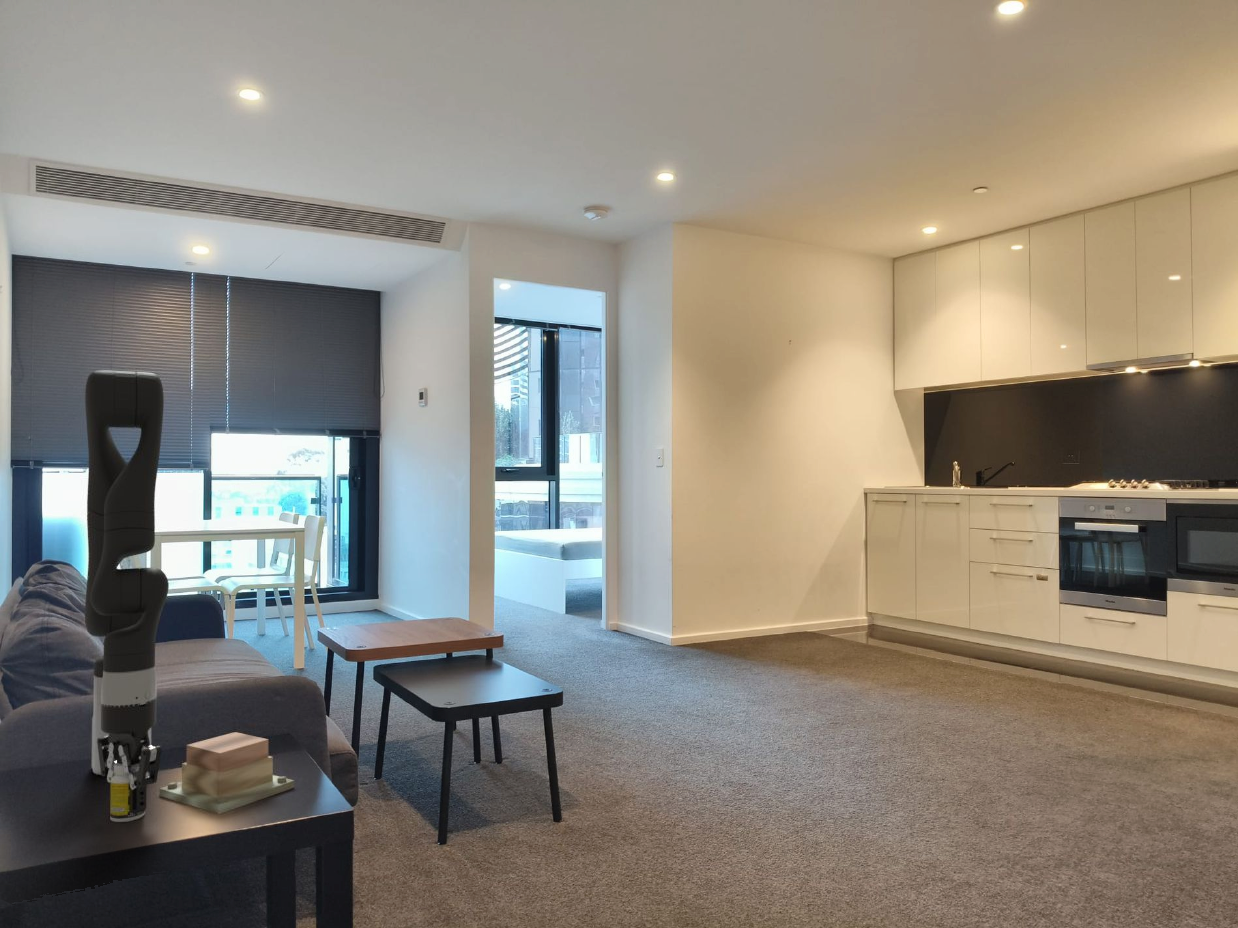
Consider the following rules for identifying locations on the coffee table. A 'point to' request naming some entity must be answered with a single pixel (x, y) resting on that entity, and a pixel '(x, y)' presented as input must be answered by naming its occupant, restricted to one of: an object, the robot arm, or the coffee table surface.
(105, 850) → the coffee table surface
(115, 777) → the supplement bottle
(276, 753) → the coffee table surface
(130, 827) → the coffee table surface
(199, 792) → the stepped pedestal block
